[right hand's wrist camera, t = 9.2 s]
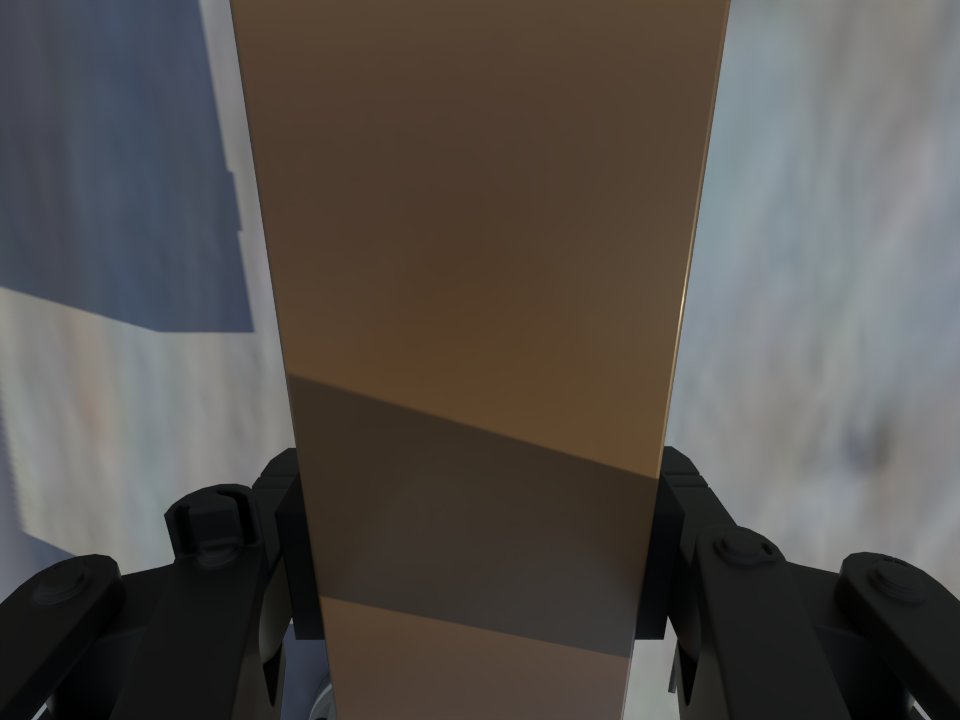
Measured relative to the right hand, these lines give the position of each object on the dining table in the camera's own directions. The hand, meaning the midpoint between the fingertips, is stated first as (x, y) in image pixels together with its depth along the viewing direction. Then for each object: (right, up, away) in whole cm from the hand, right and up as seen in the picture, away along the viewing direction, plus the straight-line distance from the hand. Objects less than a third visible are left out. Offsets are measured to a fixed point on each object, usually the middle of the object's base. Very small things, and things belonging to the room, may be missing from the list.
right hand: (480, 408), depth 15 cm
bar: (0, +22, -8) cm, 23 cm away
